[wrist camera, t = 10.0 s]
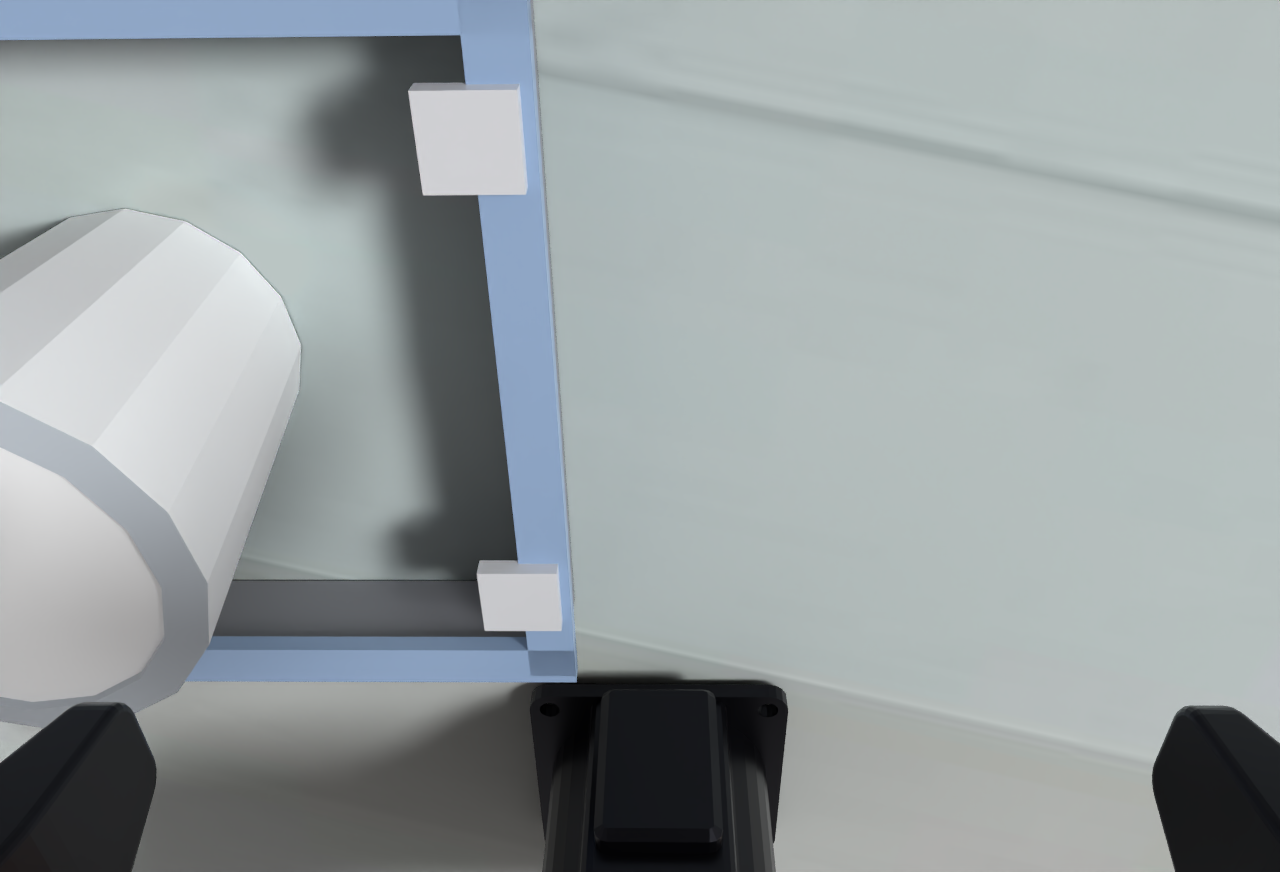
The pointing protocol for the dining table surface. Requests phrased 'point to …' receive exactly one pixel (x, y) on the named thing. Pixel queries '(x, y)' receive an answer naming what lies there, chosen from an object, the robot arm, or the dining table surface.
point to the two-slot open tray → (523, 338)
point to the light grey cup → (128, 453)
